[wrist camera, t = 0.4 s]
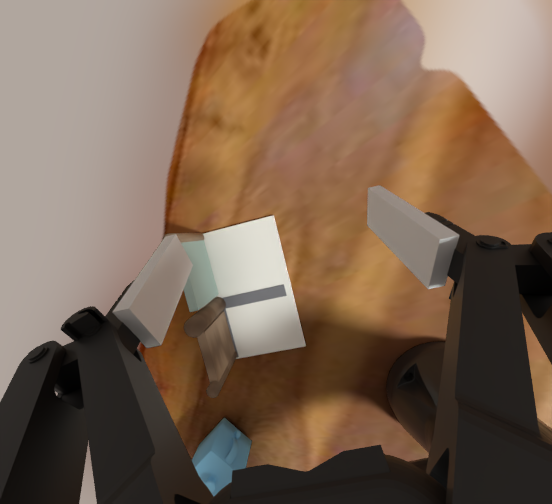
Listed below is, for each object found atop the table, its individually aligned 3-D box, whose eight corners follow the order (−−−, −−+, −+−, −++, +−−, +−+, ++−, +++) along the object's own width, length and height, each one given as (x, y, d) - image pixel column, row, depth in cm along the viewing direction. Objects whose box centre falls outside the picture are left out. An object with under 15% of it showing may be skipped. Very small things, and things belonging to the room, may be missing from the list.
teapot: (216, 473, 39) (197, 531, 31) (190, 451, 39) (165, 503, 32) (258, 430, 37) (248, 480, 30) (231, 406, 37) (214, 450, 30)
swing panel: (219, 293, 34) (196, 313, 27) (210, 295, 35) (184, 315, 27) (202, 231, 34) (173, 232, 26) (193, 234, 34) (161, 235, 26)
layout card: (305, 344, 35) (305, 346, 34) (217, 361, 37) (216, 362, 36) (273, 215, 33) (273, 215, 33) (183, 239, 35) (181, 239, 35)
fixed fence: (240, 357, 36) (222, 397, 27) (226, 359, 36) (204, 400, 27) (223, 295, 35) (199, 316, 26) (209, 298, 35) (181, 320, 27)
